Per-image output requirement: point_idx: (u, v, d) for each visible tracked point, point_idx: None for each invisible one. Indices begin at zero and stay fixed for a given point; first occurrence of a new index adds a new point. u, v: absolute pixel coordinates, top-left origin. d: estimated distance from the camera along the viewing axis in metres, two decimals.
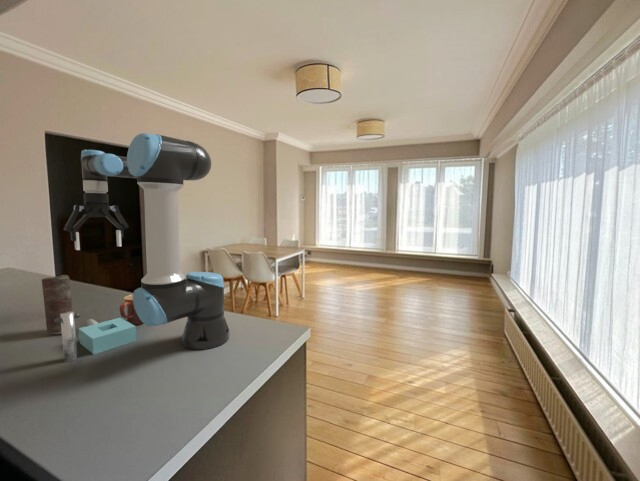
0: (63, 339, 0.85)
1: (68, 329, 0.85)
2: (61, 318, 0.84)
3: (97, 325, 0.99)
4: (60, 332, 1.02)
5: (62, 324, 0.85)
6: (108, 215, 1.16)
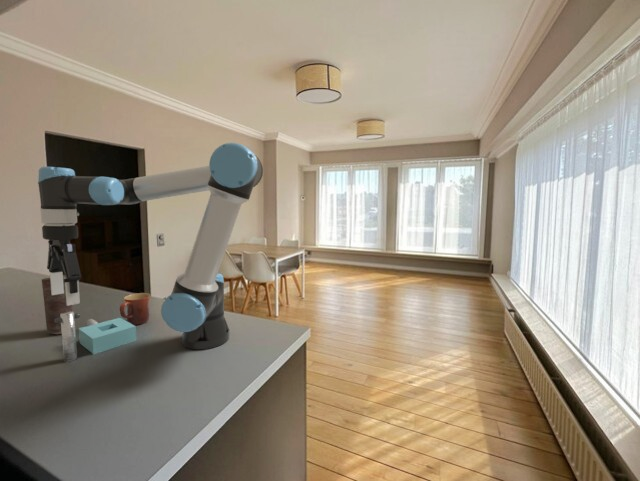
0: (63, 339, 0.85)
1: (68, 329, 0.85)
2: (61, 318, 0.84)
3: (97, 325, 0.99)
4: (60, 332, 1.02)
5: (62, 324, 0.85)
6: (57, 257, 0.80)
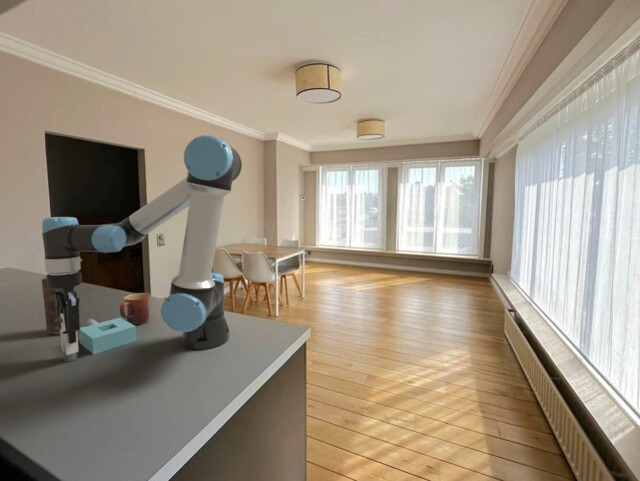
0: (63, 339, 0.85)
1: None
2: (61, 318, 0.84)
3: (97, 325, 0.99)
4: None
5: (62, 324, 0.85)
6: (60, 306, 0.83)
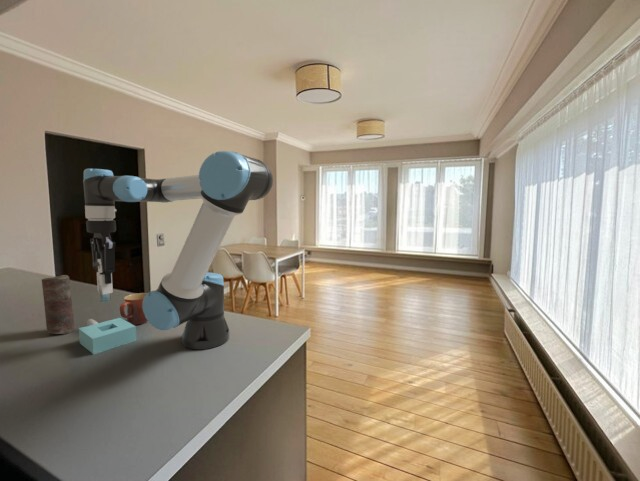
0: (100, 282, 0.95)
1: None
2: (98, 262, 0.94)
3: (97, 325, 0.99)
4: (60, 332, 1.02)
5: (99, 268, 0.94)
6: (98, 249, 0.93)
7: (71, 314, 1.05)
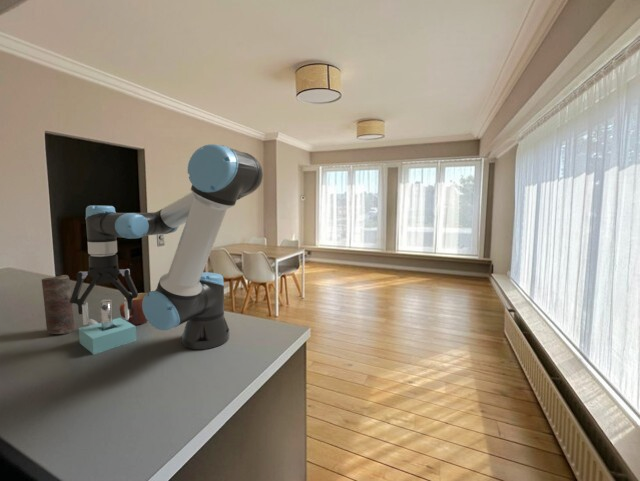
0: (108, 323, 0.97)
1: (111, 313, 0.98)
2: (107, 305, 0.96)
3: (97, 325, 0.99)
4: (60, 332, 1.02)
5: (107, 310, 0.96)
6: (113, 282, 0.96)
7: (71, 314, 1.05)
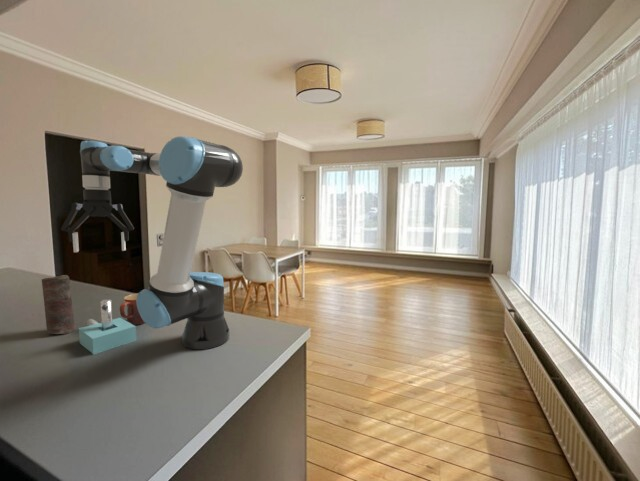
0: (108, 323, 0.97)
1: (111, 313, 0.98)
2: (107, 305, 0.96)
3: (97, 325, 0.99)
4: (60, 332, 1.02)
5: (107, 310, 0.96)
6: (108, 215, 1.02)
7: (71, 314, 1.05)
